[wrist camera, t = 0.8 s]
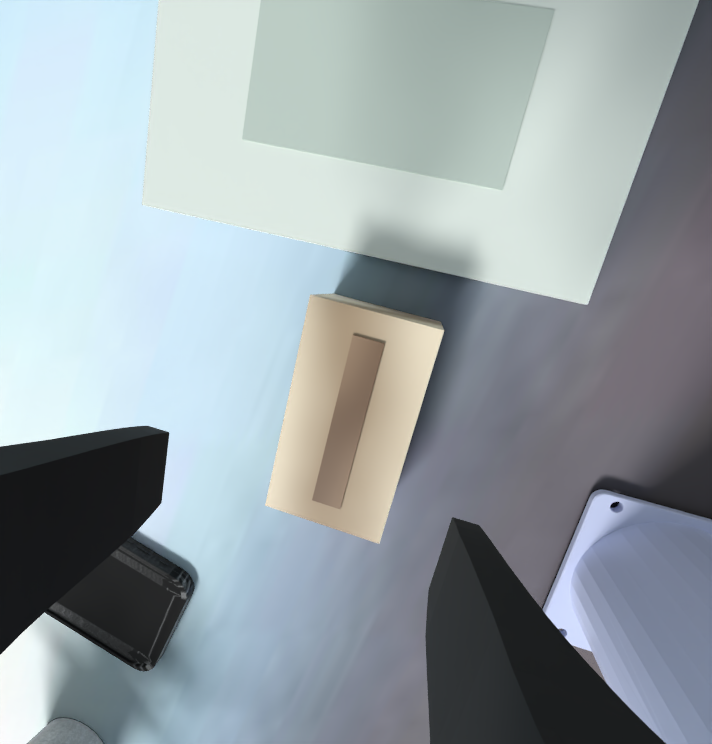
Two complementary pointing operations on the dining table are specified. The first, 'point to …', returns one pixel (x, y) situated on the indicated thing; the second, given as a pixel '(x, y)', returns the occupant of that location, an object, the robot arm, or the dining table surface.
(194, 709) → the dining table surface
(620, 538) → the robot arm
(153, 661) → the phone
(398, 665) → the dining table surface
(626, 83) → the mat
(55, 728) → the house plant
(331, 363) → the card box
